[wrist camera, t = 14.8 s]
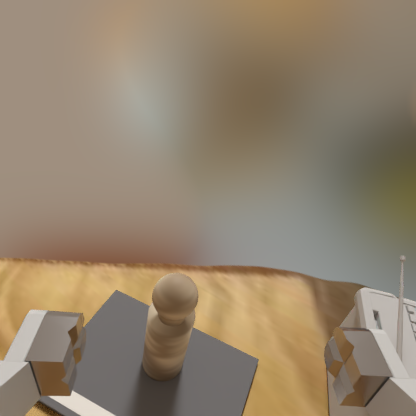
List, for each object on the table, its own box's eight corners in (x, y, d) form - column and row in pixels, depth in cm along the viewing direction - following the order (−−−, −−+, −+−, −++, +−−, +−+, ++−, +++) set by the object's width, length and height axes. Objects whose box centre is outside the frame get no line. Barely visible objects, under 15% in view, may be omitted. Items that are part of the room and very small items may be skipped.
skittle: (134, 368, 40) (141, 288, 31) (155, 335, 44) (167, 255, 35) (171, 389, 39) (190, 312, 30) (189, 353, 43) (211, 274, 34)
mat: (28, 395, 36) (27, 392, 36) (116, 292, 49) (116, 289, 48) (212, 507, 32) (213, 505, 31) (257, 361, 44) (258, 359, 44)
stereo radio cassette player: (410, 562, 31) (598, 513, 19) (324, 530, 32) (452, 463, 20) (374, 357, 48) (463, 262, 36) (318, 339, 49) (386, 240, 37)
